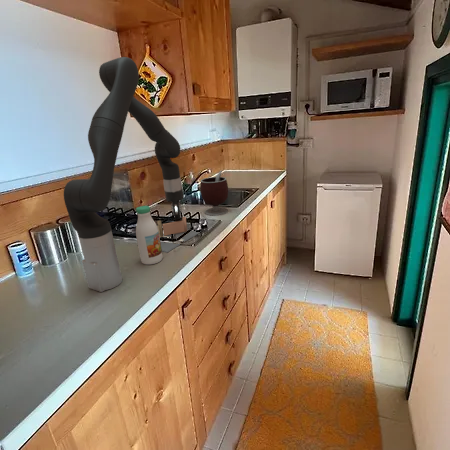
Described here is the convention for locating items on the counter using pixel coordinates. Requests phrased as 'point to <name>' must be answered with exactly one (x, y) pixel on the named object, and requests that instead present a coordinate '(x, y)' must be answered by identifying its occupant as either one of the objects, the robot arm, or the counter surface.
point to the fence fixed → (160, 228)
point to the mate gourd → (214, 194)
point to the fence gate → (175, 227)
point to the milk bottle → (148, 237)
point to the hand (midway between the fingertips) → (178, 226)
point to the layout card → (170, 246)
